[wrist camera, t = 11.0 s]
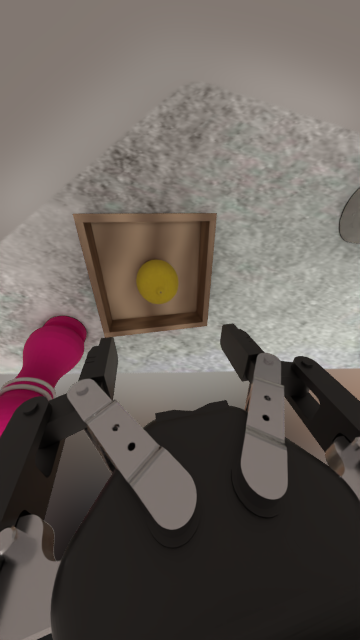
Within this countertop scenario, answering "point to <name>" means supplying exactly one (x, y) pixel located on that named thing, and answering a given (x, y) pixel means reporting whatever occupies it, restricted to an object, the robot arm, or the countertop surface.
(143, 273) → the lemon
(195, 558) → the robot arm
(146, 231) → the tray
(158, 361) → the countertop surface
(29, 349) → the pepper mill
